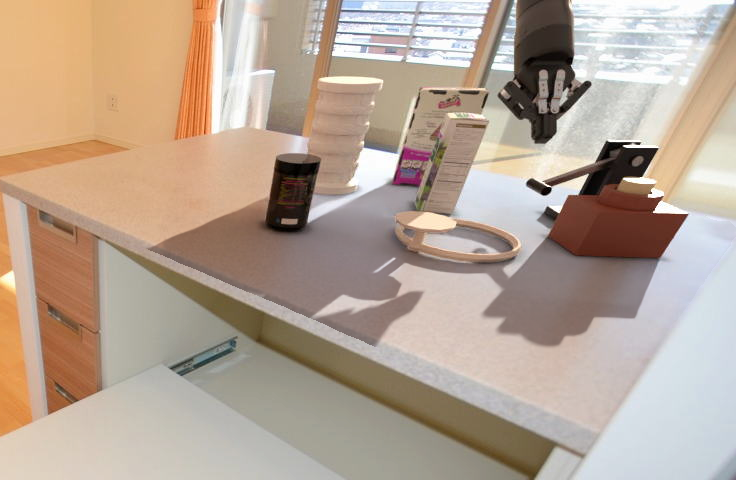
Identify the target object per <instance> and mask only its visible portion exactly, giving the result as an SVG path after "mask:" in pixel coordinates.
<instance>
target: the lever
mask: <svg viewBox="0 0 736 480" xmlns="http://www.w3.org/2000/svg"><path fill="white" fill-rule="evenodd" d="M627 146H639V145H636V144H633V143H632V144H629V145H627ZM621 148H622V147H621ZM621 148H618V149H615V150H612V151H610V158H607V159H604V160H601V161H598V162H596V163H595V162H593V163H590V164H587V165H584V166H581V167H579V168H576V169H573V170H570V171H567V172H564V173H561V174H558V175H555V176H552V177H549V178H547V179H544V180H539V179H537V178H536V177H531V178H529V179H527V180H526V182H525V187H527V188H528V189H530V190H532V191H533V192H535V193H537V194H539V195H541V196H543V197H546V196H549V195H550V194H551V193H552V191H553V187H555V186H558V185H561V184H564V183H566V182H570V181H572V180H575V179H578V178H581V177H584V176H586V175H587V176H588V175H589V174H590V173H593V172H596V171H599V170H601V169H604V168H607V167H611V166H612V164H613V162H614V161H615V159H616V157H617V155H618V153H619V151H620V149H621Z"/></svg>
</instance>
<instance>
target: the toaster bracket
mask: <svg viewBox="0 0 736 480" xmlns="http://www.w3.org/2000/svg"><path fill="white" fill-rule="evenodd" d="M632 143H633V144H636V145H639V146H627V145H629V144H632ZM641 144H642V141H640V140H637V139H636V140H635V139H633V140H632V139H627V140H626V139H620V140H618V139H617V140H616V139H606V140H605V142H604V144H603V146H602V148H601V150H600V152H599V153H598V155H597V157H596V160H595V161H594V163H596V162H598V161H601V160H604V159H607V158H610V151H612V150H615V149H618V148H621V147H622V148H621V149H620V151H619V153H618V155H617V157H616V159H615V161H614V162H613V164H612V166H611V167H607V168H604V169H601V170H599V171H596V172H593V173H590V174H587V176H586V179H585V181H584V182H583V185H582V187H581V188H580V190H579V193H578V194H577V195H600V193H601V191H602V190H603V188H604V186H605V185H610V184H620V183H621V181H622V179H623V178H624V177H641V178H644V175H645V174H646V171H648V168H649V166H650V165H651V163H652V162H653V159H654V158H655V156H656V154H657V153H658V151H659V149H660V147H658V146H656V145H641ZM562 207H563V205H547V206H546V207H545V209H544V211H543V214H544V215H546V216H548V217H549V218H551V219H553V220H554V221H555V220H556V218H557V216H558V214H559V212H560V211H561V209H562Z"/></svg>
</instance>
